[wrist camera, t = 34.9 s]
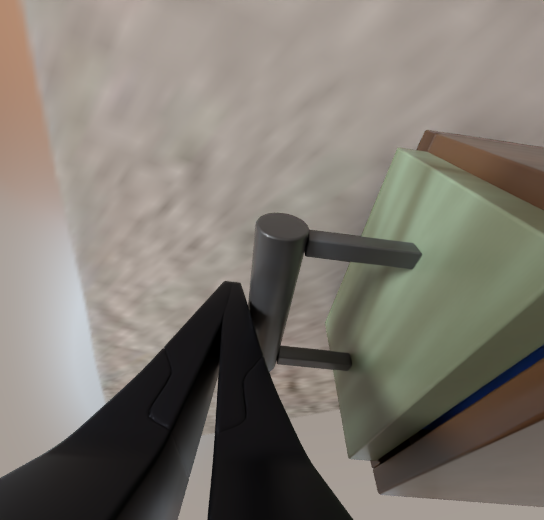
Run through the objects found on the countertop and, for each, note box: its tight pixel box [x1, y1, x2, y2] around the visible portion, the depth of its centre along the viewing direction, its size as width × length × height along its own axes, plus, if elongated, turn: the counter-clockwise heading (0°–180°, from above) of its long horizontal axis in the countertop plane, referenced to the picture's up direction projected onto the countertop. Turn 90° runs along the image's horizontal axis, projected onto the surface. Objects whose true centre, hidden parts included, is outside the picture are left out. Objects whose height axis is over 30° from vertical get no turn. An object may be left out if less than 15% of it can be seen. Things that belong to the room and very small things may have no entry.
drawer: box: [248, 148, 544, 461], centre depth 9 cm, size 18×10×7 cm, turn 83°
